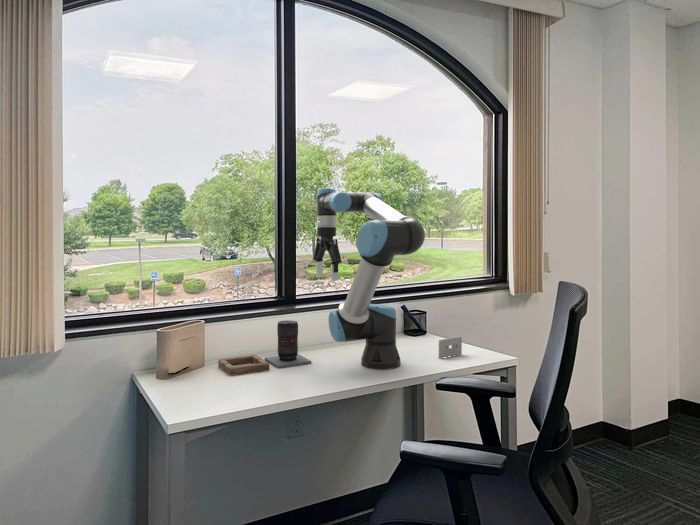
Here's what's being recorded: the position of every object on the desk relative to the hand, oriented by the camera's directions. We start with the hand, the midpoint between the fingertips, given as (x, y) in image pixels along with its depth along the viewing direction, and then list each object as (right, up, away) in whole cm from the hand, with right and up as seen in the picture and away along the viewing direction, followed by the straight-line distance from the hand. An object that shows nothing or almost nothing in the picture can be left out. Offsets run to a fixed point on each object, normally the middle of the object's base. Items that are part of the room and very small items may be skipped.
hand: (327, 279), depth 227 cm
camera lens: (-15, -32, -7) cm, 36 cm away
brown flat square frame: (-31, -33, -16) cm, 48 cm away
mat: (-15, -32, -7) cm, 36 cm away
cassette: (+50, -32, +1) cm, 60 cm away
